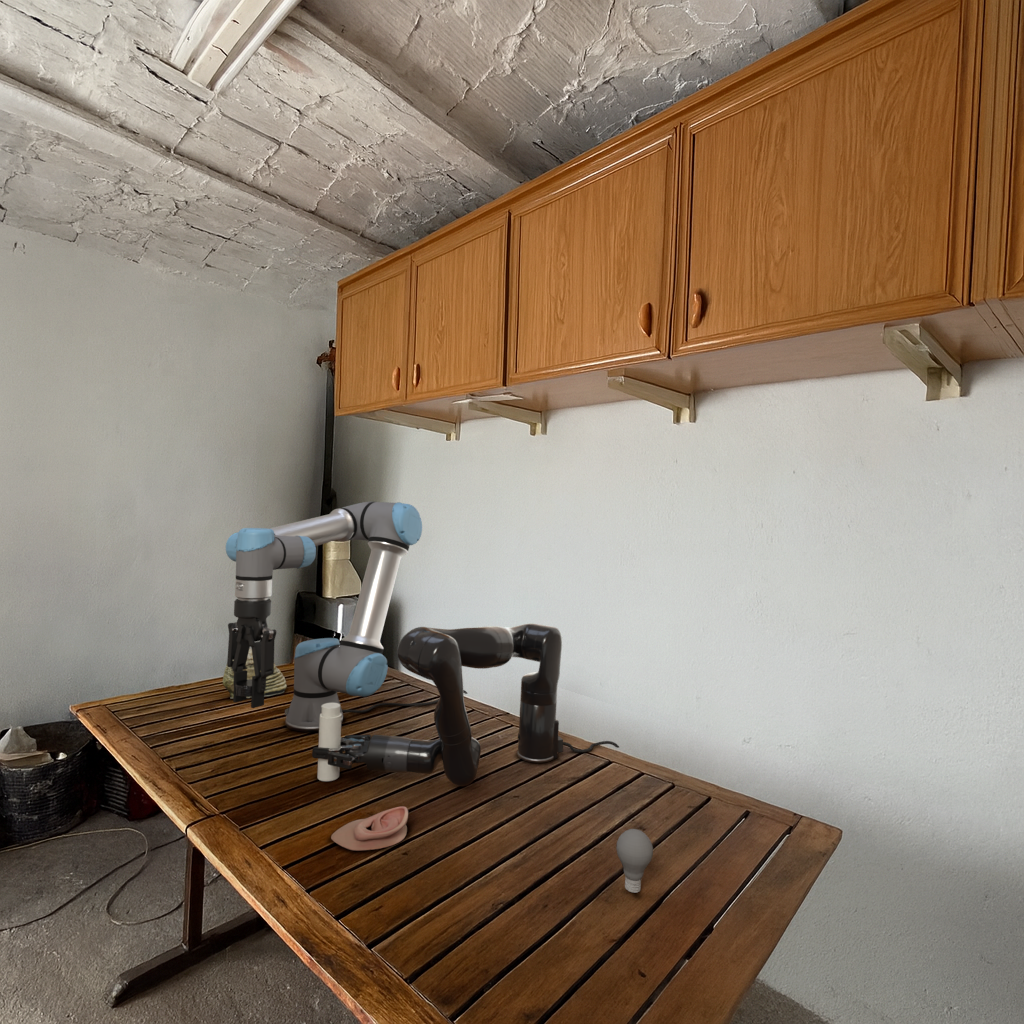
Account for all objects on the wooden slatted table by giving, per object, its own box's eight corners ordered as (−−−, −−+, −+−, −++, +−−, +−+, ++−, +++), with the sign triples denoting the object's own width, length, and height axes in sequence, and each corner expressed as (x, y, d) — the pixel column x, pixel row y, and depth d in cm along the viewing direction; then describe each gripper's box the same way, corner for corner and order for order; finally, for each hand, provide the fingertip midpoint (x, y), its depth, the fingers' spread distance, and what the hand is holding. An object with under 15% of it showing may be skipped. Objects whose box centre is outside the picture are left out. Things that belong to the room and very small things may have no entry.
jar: (340, 771, 146) (343, 701, 146) (337, 781, 141) (340, 708, 141) (319, 772, 145) (321, 702, 145) (315, 781, 141) (318, 708, 140)
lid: (231, 691, 140) (231, 681, 140) (257, 688, 143) (257, 677, 143) (239, 698, 135) (240, 687, 135) (266, 694, 139) (266, 683, 139)
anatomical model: (323, 824, 115) (352, 795, 126) (322, 845, 115) (351, 815, 126) (392, 835, 112) (415, 805, 123) (391, 857, 112) (414, 825, 123)
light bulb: (610, 879, 108) (613, 822, 108) (644, 879, 109) (647, 822, 109) (619, 902, 102) (622, 840, 102) (655, 901, 103) (658, 840, 103)
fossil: (218, 695, 195) (220, 647, 195) (278, 685, 208) (279, 640, 207) (228, 703, 189) (230, 653, 188) (289, 692, 201) (290, 645, 201)
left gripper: (211, 595, 141) (207, 699, 141) (265, 605, 131) (260, 716, 131) (241, 592, 147) (237, 691, 147) (295, 601, 138) (290, 708, 138)
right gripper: (400, 726, 149) (330, 720, 151) (381, 749, 135) (304, 743, 136) (399, 757, 149) (329, 751, 151) (380, 784, 135) (303, 777, 137)
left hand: (248, 703), depth 139 cm, fingers closed on lid, 5 cm apart
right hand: (318, 747), depth 144 cm, fingers closed on jar, 4 cm apart
